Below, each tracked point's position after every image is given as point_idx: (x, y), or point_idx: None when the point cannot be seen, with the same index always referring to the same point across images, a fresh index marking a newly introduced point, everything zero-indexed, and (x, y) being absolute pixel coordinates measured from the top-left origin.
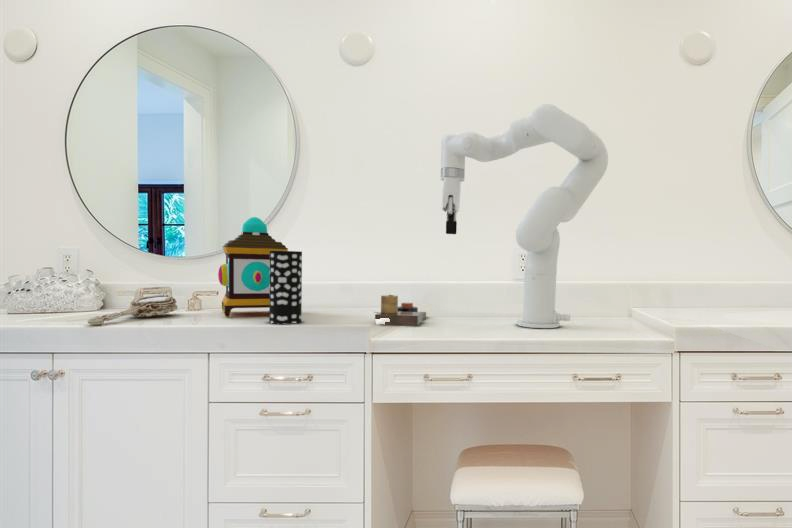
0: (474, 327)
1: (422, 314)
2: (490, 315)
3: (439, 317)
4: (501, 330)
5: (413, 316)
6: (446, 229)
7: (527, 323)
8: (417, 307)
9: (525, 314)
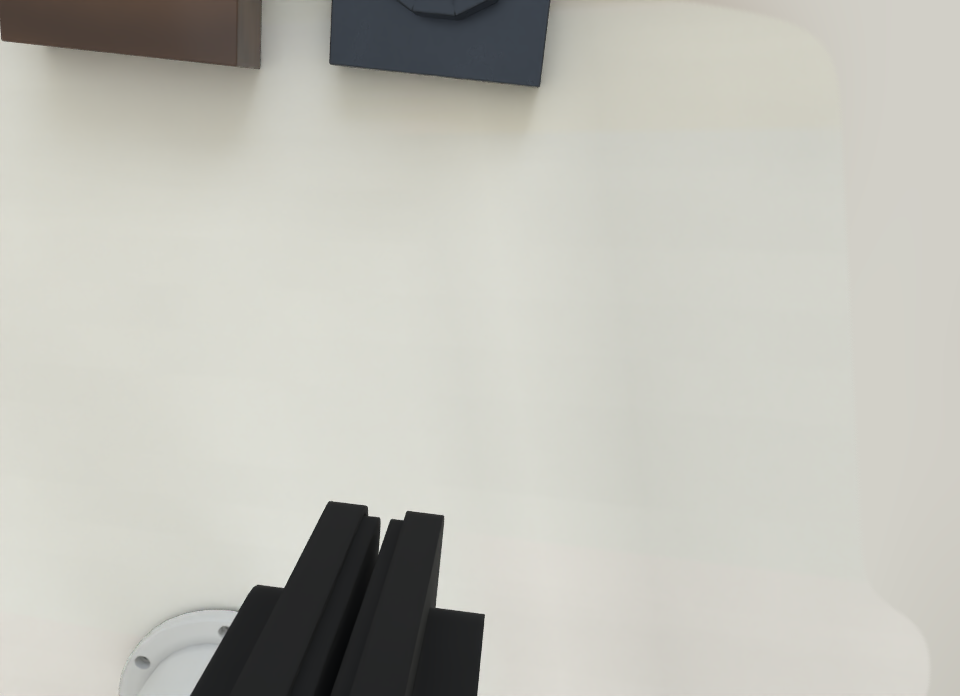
0: (97, 380)
1: (240, 66)
2: (702, 529)
3: (544, 186)
4: (23, 502)
5: (2, 10)
6: (306, 554)
7: (151, 651)
8: (445, 14)
9: (166, 678)
